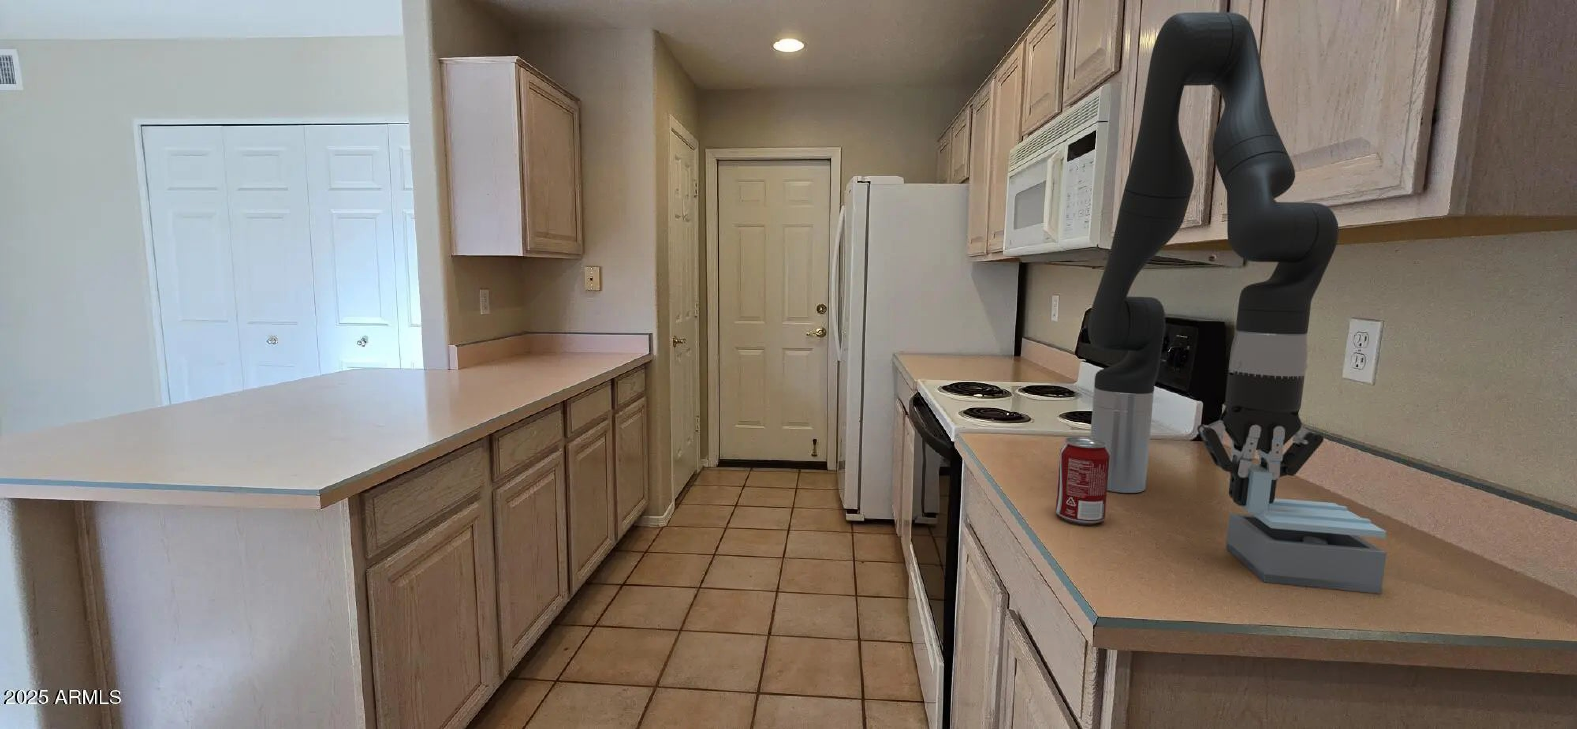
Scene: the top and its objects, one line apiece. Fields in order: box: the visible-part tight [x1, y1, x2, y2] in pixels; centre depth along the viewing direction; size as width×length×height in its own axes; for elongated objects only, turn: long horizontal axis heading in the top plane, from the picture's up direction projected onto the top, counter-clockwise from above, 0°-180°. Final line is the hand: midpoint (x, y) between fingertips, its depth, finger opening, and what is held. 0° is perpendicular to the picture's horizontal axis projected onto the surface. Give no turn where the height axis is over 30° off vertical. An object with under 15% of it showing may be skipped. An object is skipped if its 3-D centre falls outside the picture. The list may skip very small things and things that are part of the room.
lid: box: [1240, 463, 1387, 539], centre depth 79 cm, size 10×13×6 cm
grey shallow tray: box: [1225, 512, 1387, 595], centre depth 80 cm, size 10×12×5 cm
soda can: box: [1055, 436, 1110, 526], centre depth 96 cm, size 7×7×12 cm
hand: (1249, 504), depth 81 cm, fingers closed on lid
